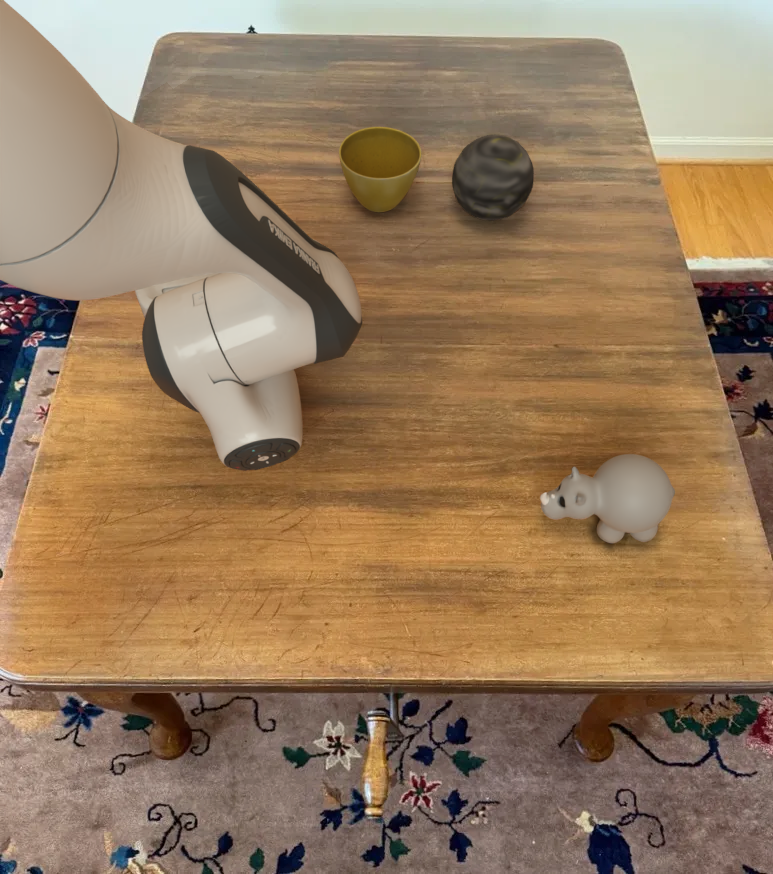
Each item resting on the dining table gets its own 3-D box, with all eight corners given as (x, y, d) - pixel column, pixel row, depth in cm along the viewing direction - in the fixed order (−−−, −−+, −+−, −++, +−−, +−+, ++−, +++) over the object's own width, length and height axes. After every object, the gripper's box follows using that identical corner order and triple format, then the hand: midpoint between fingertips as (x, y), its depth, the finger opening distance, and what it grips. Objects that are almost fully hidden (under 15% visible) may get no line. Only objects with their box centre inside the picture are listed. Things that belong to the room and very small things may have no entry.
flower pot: (403, 167, 100) (405, 119, 94) (429, 216, 95) (433, 169, 88) (331, 182, 98) (328, 134, 92) (354, 233, 93) (352, 186, 87)
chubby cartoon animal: (525, 485, 74) (542, 440, 67) (645, 484, 74) (674, 438, 67) (535, 552, 70) (553, 512, 63) (661, 550, 70) (693, 510, 63)
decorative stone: (539, 227, 94) (555, 160, 85) (466, 245, 92) (475, 178, 83) (506, 178, 99) (519, 110, 90) (436, 193, 97) (443, 125, 88)
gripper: (341, 289, 74) (316, 196, 81) (131, 322, 71) (125, 224, 78) (343, 330, 79) (320, 240, 86) (148, 362, 76) (141, 267, 84)
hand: (225, 232), depth 82 cm, fingers closed on beer can, 5 cm apart
